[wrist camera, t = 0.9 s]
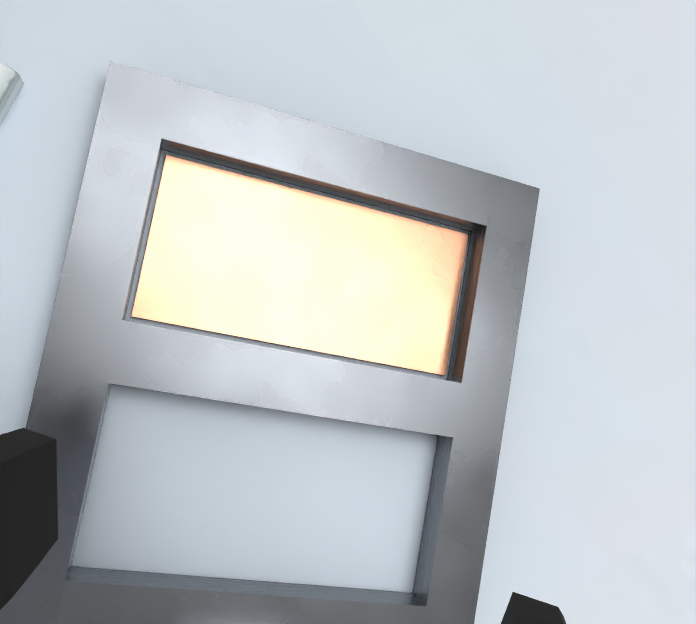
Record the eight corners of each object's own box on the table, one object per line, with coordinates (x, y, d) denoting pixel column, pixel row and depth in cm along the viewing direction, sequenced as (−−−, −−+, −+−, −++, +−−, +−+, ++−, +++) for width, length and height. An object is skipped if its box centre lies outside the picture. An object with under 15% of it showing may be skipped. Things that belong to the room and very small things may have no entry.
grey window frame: (417, 876, 22) (431, 905, 21) (-77, 907, 18) (-94, 946, 17) (522, 195, 25) (539, 188, 24) (113, 76, 21) (109, 61, 19)
